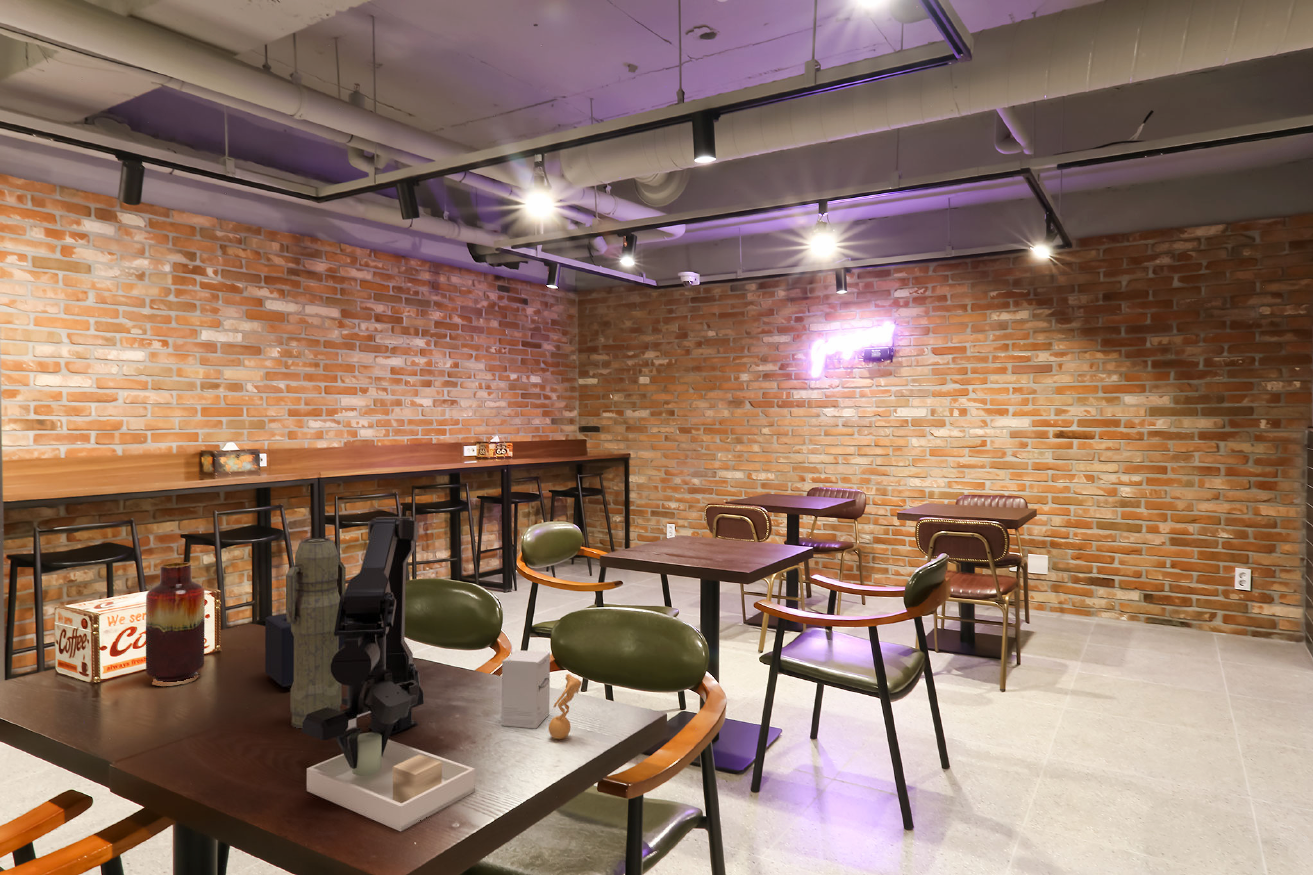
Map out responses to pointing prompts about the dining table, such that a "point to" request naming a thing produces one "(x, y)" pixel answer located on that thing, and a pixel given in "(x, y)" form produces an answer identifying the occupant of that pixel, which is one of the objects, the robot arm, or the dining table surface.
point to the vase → (175, 625)
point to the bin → (388, 787)
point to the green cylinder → (368, 754)
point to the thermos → (314, 625)
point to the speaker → (282, 649)
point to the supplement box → (525, 688)
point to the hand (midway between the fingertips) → (366, 762)
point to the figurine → (561, 724)
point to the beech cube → (415, 777)
